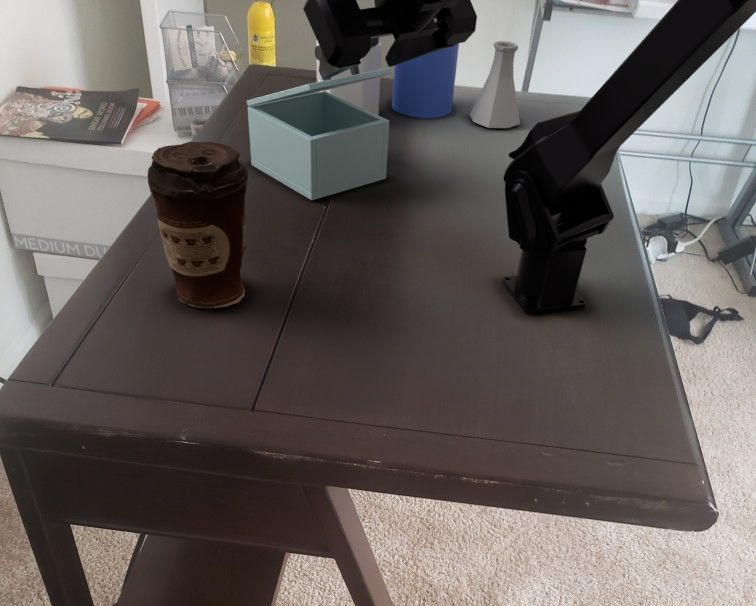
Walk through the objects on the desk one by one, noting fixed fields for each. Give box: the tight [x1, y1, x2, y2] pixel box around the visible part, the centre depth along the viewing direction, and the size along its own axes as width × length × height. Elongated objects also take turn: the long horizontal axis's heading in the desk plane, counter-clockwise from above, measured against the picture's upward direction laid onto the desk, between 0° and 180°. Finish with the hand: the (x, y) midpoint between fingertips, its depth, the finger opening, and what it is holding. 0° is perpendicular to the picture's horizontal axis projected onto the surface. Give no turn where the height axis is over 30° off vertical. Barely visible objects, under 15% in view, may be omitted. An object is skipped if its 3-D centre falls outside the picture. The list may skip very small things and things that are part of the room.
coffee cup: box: [147, 141, 249, 309], centre depth 66 cm, size 9×8×13 cm
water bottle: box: [391, 43, 460, 119], centre depth 103 cm, size 9×9×25 cm
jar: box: [315, 37, 383, 116], centre depth 104 cm, size 9×8×12 cm
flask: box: [469, 40, 521, 129], centre depth 106 cm, size 7×7×10 cm
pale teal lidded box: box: [247, 91, 390, 201], centre depth 90 cm, size 13×12×7 cm
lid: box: [246, 45, 393, 107], centre depth 85 cm, size 13×12×4 cm
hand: (355, 68), depth 80 cm, fingers open, 9 cm apart
